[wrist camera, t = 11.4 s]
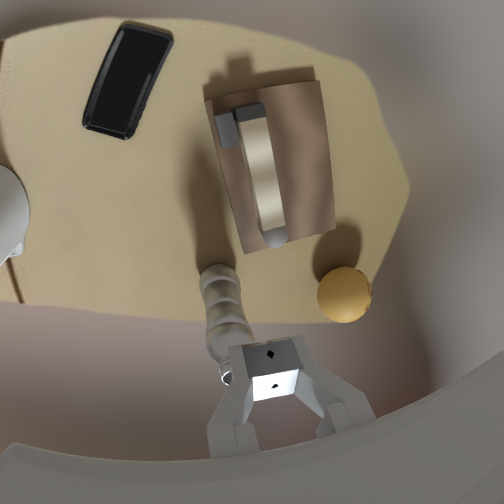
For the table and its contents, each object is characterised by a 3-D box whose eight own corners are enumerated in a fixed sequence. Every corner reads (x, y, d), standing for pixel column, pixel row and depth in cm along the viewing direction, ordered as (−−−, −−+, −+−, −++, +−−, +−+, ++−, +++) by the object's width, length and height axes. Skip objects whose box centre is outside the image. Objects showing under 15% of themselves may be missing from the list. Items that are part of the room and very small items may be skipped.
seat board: (242, 247, 45) (247, 265, 41) (204, 100, 32) (205, 101, 28) (330, 223, 46) (344, 238, 42) (313, 80, 33) (329, 80, 29)
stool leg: (280, 230, 42) (289, 245, 39) (260, 236, 42) (266, 251, 39) (256, 101, 32) (263, 103, 28) (230, 107, 32) (235, 109, 28)
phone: (79, 127, 30) (122, 22, 23) (82, 126, 30) (124, 24, 24) (131, 142, 33) (177, 37, 26) (133, 140, 33) (177, 38, 27)
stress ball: (301, 282, 53) (321, 330, 52) (320, 278, 43) (343, 336, 42) (345, 261, 55) (363, 307, 54) (369, 254, 45) (390, 308, 44)
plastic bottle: (224, 251, 45) (247, 353, 28) (244, 279, 49) (273, 378, 32) (190, 271, 46) (196, 375, 29) (212, 297, 49) (228, 397, 33)
